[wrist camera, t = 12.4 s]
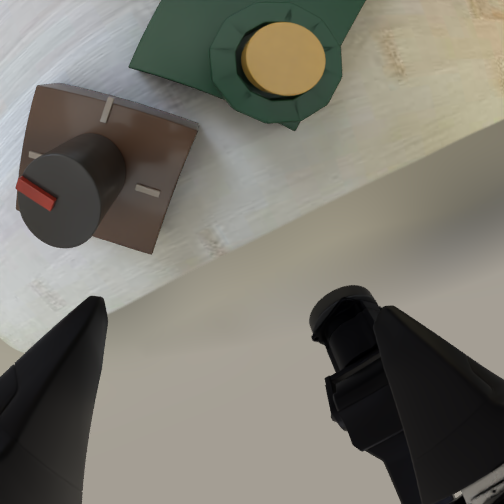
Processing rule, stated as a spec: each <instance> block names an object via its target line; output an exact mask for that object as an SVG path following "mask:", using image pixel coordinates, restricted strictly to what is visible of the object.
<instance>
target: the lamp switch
mask: <svg viewBox="0 0 504 504" xmlns="http://www.w3.org/2000/svg"><path fill="white" fill-rule="evenodd" d="M325 63H326V59H325V53H324V49H323V47H322V45H321V43H320V41H319V40H318V39H317V37H316V36H315V35H314V34H313V33H312V32H311V31H309V30H308V29H306V28H305V27H303V26H301V25H298V24H295V23H290V22H276V23H272V24H269V25H266V26H264V27H262V28H261V29H259V30H258V31H257V32H256V33H255V34H254V35H253V36H252V37H251V38H250V39H249V40H248V41H247V42H246V44H245V46H244V48H243V51H242V55H241V64H242V69H243V72H244V74H245V76H246V77H247V79H248V80H249V81H250V82H251V83H252V84H253V85H254V86H255V87H257V88H258V89H260V90H262V91H264V92H266V93H270V94H276V95H282V96H294V95H299V94H302V93H305V92H307V91H309V90H310V89H311V88H313V87H314V86H315V85H316V84H317V83H318V82H319V80H320V79H321V77H322V75H323V73H324V69H325Z"/></svg>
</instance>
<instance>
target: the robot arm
mask: <svg viewBox="0 0 504 504" xmlns="http://www.w3.org/2000/svg"><path fill="white" fill-rule="evenodd" d="M344 301H345V302H344ZM107 326H108V317H107V312H106V307H105V302H104V299H103V298H102V297H98V296H89V297H88V298H87V299H86V300H84V301H83V302H82V303H81V304H80V305H78V306H77V307H76V308H75V309H74V310H73V311H71V312H70V313H69V314H68V315H67V316H66V317H64V318H63V319H62V320H61V321H60V322H59V323H58V324H57V325H55V326H54V327H53V328H52V329H51V330H50V331H49V332H48V333H46V334H45V335H44V336H43V337H42V338H41V339H40V340H39V341H38V342H37V343H35V344H34V345H33V346H32V347H31V348H30V349H29V350H28V351H27V352H26V353H25V354H24V355H23V356H22V357H21V358H20V359H19V360H17V362H15V365H12V366H11V367H10V368H9V369H8V370H7V371H6V372H5V373H4V374H3V375H2V376H1V377H0V504H82V492H81V491H82V490H83V479H84V469H85V459H86V452H87V445H88V439H89V432H90V426H91V420H92V414H93V409H94V404H95V398H96V393H97V389H98V384H99V380H100V375H101V370H102V363H103V354H104V347H105V339H106V333H107ZM311 338H312V341H314V342H320V343H324V345H325V347H326V349H327V352H328V355H329V357H330V359H331V362H332V364H333V367H334V369H335V372H336V373H335V374H333V375H331V376H328V377H326V378H325V382H326V385H325V386H326V391H327V396H328V401H329V406H330V411H331V418H332V420H333V421H335V422H337V423H338V424H339V426H340V427H341V428H342V429H343V430H344V431H348V433H349V436H350V438H351V441H352V444H353V445H354V446H355V447H356V448H358V449H359V450H360V451H366V452H368V453H370V454H372V455H373V456H375V457H377V458H379V459H380V460H382V461H383V462H384V464H385V466H386V469H387V471H388V473H389V475H390V477H391V480H392V482H393V485H394V487H395V489H396V492H397V494H398V496H399V499H400V501H401V504H504V380H503V379H502V378H500V377H499V376H497V375H495V374H494V373H492V372H491V371H489V370H488V369H486V368H484V367H483V366H482V365H480V364H478V363H477V362H476V361H474V360H473V359H471V358H470V357H469V356H467V355H466V354H464V353H463V352H461V351H460V350H459V349H457V348H456V347H454V346H453V345H451V344H450V343H448V342H447V341H446V340H444V339H442V338H441V337H440V336H438V335H437V334H435V333H434V332H432V331H431V330H429V329H428V328H426V327H425V326H423V325H422V324H421V323H419V322H418V321H416V320H415V319H413V318H412V317H410V316H409V315H407V314H406V313H404V312H403V311H401V310H399V309H398V308H396V307H395V306H384V307H383V308H382V307H381V306H377V305H376V304H374V303H370V302H367V301H363V300H356V299H352V298H349V297H342V298H341V299H340V300H339V301H338V303H337V304H336V305H335V307H334V308H333V309H332V311H331V312H330V313H329V314H328V316H327V317H326V318H325V320H324V321H323V322H322V323H321V325H320V326H319V327H318V328H317V330H316V331H315V332H314V333H313V335H312V336H311ZM460 490H461V492H462V495H460V496H459V497H457V498H455V496H454V494H455V493H457V492H458V491H460Z"/></svg>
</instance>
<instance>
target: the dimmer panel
mask: <svg viewBox="0 0 504 504" xmlns="http://www.w3.org/2000/svg"><path fill="white" fill-rule="evenodd" d="M198 125H199V124H198V123H196V122H193V121H190V120H187V119H184V118H182V117H179V116H176V115H173V114H170V113H167V112H164V111H161V110H158V109H155V108H152V107H148V106H145V105H142V104H139V103H135V102H132V101H129V100H125V99H122V98H118V97H115V96H111V95H107V94H104V93H100V92H96V91H92V90H88V89H84V88H80V87H75V86H71V85H66V84H62V83H54V84H44V85H37V87H36V90H35V94H34V97H33V101H32V105H31V109H30V113H29V118H28V122H27V127H26V132H25V137H24V143H23V149H22V155H21V162H20V169H19V177H21V176H22V174H23V172H24V170H25V169H26V168H27V166H28V165H29V164H30V163H31V162H32V161H33V160H35V159H36V158H38V157H39V156H41V155H43V154H45V153H46V152H48V151H50V150H52V149H53V148H55V147H57V146H59V145H61V144H63V143H64V142H66V141H68V140H70V139H72V138H74V137H76V136H79V135H82V134H87V133H93V134H99V135H102V136H104V137H106V138H108V139H109V140H110V141H112V142H113V143H114V144H115V145H116V146H117V148H118V149H119V151H120V152H121V154H122V156H123V159H124V162H125V168H126V176H125V182H124V185H123V188H122V190H121V192H120V193H119V195H118V196H117V198H116V199H115V201H114V202H113V204H112V205H111V207H110V209H109V210H108V212H107V213H106V215H105V216H104V218H103V220H102V221H101V223H100V224H99V226H98V228H97V229H96V231H95V233H94V234H93V235H92V236H94V237H97V238H100V239H103V240H106V241H110V242H113V243H116V244H119V245H122V246H125V247H128V248H132V249H135V250H138V251H141V252H144V253H148V254H152V253H153V250H154V247H155V244H156V241H157V238H158V235H159V232H160V229H161V226H162V223H163V220H164V217H165V214H166V211H167V208H168V206H169V203H170V200H171V197H172V195H173V192H174V189H175V187H176V184H177V181H178V179H179V176H180V173H181V171H182V168H183V166H184V163H185V161H186V158H187V156H188V153H189V151H190V149H191V146H192V144H193V141H194V139H195V137H196V134H197V132H198ZM16 210H18V211H20V210H19V205H18V190H17V200H16Z"/></svg>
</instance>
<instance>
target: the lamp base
mask: <svg viewBox="0 0 504 504" xmlns="http://www.w3.org/2000/svg"><path fill="white" fill-rule="evenodd" d="M365 1H366V0H161V2H160V4H159V6H158V7H157V9H156V11H155V13H154V15H153V16H152V18H151V20H150V22H149V24H148V26H147V28H146V30H145V32H144V34H143V36H142V38H141V40H140V42H139V44H138V47H137V49H136V51H135V53H134V55H133V58H132V60H131V62H130V64H129V68H131V69H135V70H139V71H142V72H146V73H149V74H152V75H156V76H159V77H162V78H165V79H168V80H172V81H175V82H178V83H180V84H183V85H186V86H189V87H192V88H195V89H198V90H200V91H203V92H206V93H208V94H211V95H214V96H216V97H219V98H221V99H224V100H226V101H227V103H228V104H229V105H230V106H231V107H232V108H233V109H234V110H236V111H238V112H240V113H243V114H245V115H248V116H250V117H252V118H254V119H257V120H259V121H261V122H263V123H268V124H270V123H279V124H281V125H283V126H285V127H287V128H289V129H291V130H293V131H295V130H296V129H297V127H298V125H299V123H300V121H302V120H304V119H305V118H307V117H309V116H310V115H312V114H313V113H315V112H317V111H318V110H320V109H321V108H323V107H325V106H326V105H327V104H328V103H329V101H330V99H331V97H332V95H333V94H334V92H335V90H336V88H337V86H338V84H339V82H340V80H341V77H342V61H341V47H340V46H341V44H342V42H343V41H344V39H345V37H346V35H347V33H348V31H349V30H350V28H351V26H352V24H353V22H354V21H355V19H356V17H357V15H358V13H359V11H360V10H361V8H362V6H363V4H364V2H365ZM276 22H290V23H295V24H298V25H301V26H303V27H305V28H306V29H308V30H309V31H311V32H312V33H313V34H314V35H315V36H316V37H317V39H318V40H319V41H320V43H321V45H322V47H323V49H324V53H325V59H326V63H325V69H324V73H323V75H322V77H321V79H320V80H319V82H318V83H317V84H316V85H315V86H314V87H313V88H311V89H310V90H309V91H307V92H305V93H302V94H299V95H294V96H282V95H276V94H270V93H266V92H264V91H262V90H260V89H258V88H257V87H255V86H254V85H253V84H252V83H251V82H250V81H249V80H248V79H247V77H246V76H245V74H244V72H243V69H242V64H241V55H242V51H243V48H244V46H245V44H246V42H247V41H248V40H249V39H250V38H251V37H252V36H253V35H254V34H255V33H256V32H257V31H258V30H259V29H261V28H262V27H264V26H266V25H269V24H272V23H276Z"/></svg>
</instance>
